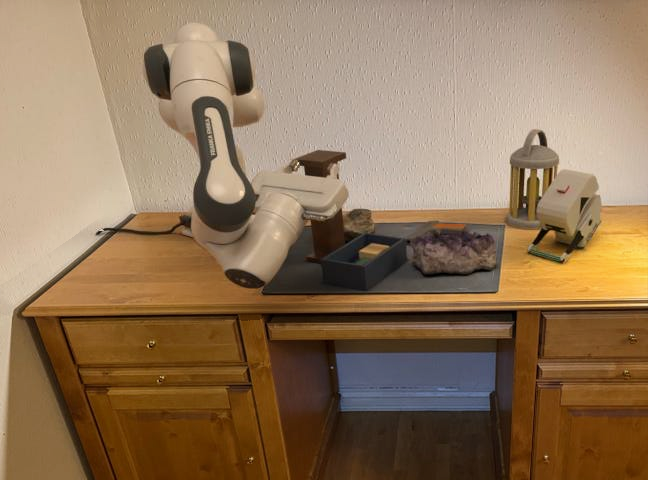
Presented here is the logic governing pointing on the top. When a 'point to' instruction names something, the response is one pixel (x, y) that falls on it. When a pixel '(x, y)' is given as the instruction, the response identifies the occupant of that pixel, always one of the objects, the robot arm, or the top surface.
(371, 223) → the stone
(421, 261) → the geode
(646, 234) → the top surface
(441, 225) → the handgun
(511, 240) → the top surface
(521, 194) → the lantern
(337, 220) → the stand
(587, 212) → the robotic device
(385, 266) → the desk bin
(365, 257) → the brush
